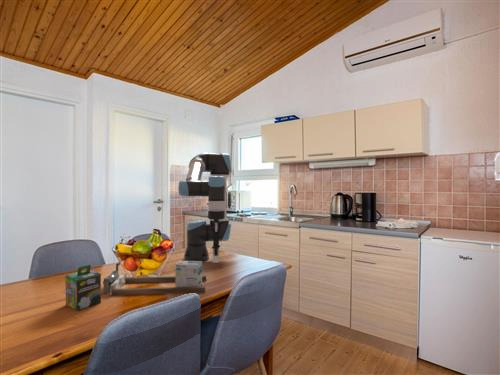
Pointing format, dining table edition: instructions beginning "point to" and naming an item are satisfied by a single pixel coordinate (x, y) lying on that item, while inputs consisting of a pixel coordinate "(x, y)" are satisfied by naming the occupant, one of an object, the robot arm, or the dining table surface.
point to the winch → (111, 279)
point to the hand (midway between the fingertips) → (215, 262)
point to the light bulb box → (188, 274)
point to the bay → (123, 279)
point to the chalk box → (83, 288)
